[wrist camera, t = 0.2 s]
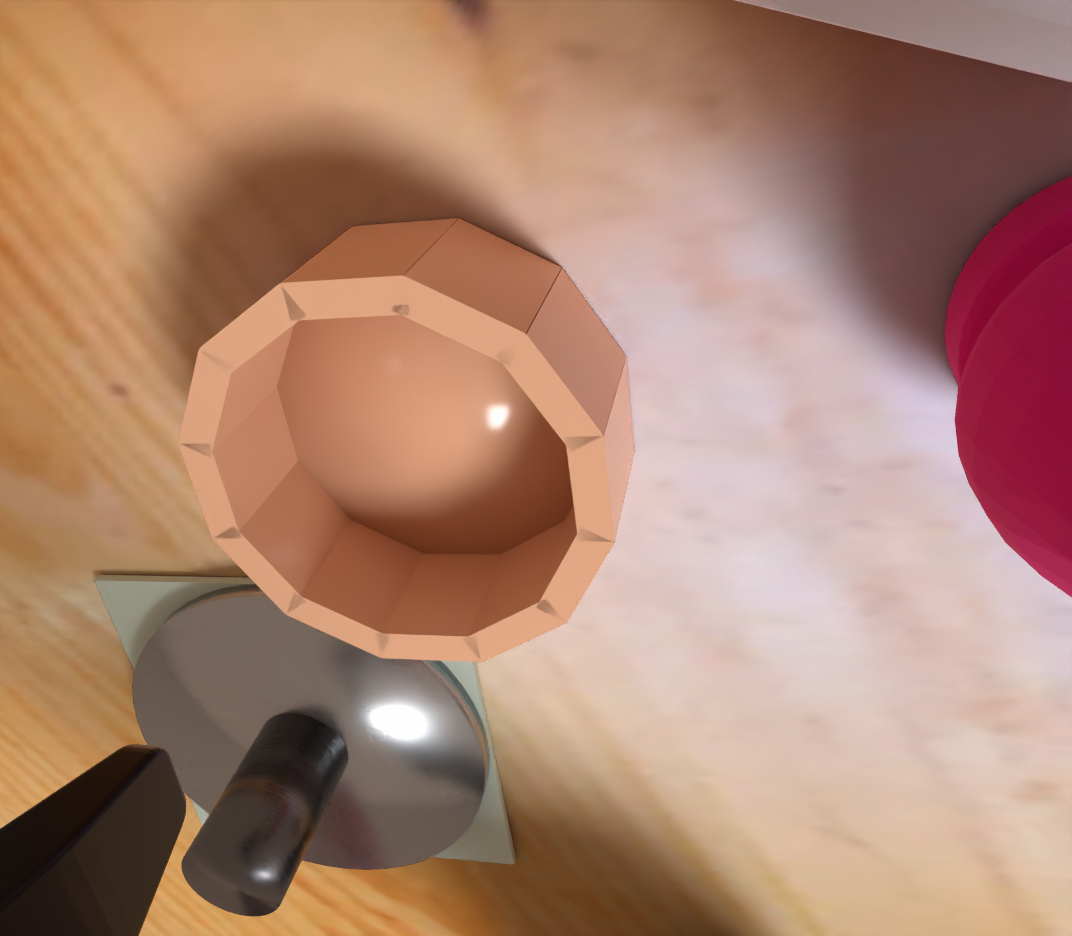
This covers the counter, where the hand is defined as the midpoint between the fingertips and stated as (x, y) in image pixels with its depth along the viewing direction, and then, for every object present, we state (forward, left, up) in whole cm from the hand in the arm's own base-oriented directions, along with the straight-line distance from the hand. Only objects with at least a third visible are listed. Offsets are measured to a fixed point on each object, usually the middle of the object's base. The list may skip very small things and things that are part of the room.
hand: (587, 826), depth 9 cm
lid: (-14, +13, -14) cm, 24 cm away
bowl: (-3, +6, -15) cm, 16 cm away
